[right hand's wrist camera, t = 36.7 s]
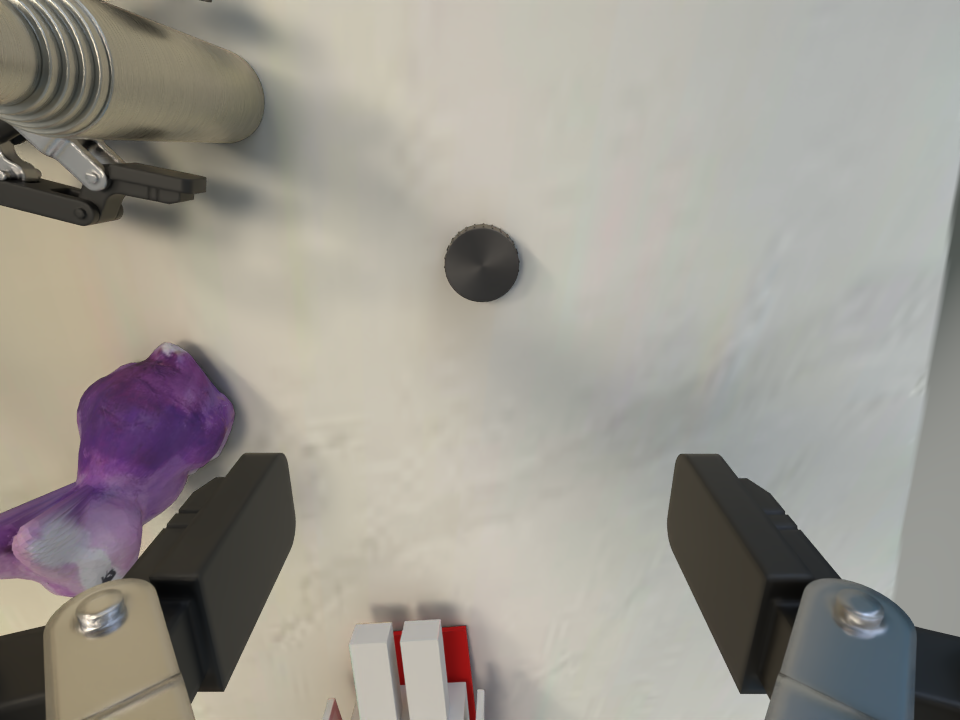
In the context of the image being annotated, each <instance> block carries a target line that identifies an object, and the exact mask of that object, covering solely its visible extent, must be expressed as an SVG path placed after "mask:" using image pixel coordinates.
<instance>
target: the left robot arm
mask: <svg viewBox="0 0 960 720" xmlns="http://www.w3.org/2000/svg"><path fill="white" fill-rule="evenodd" d="M201 1H205V2H212V0H201ZM26 140H28V141H29V142H30V143H31V144H32V145H33V146H34V147H35V148H36V149H38V150H39V151H40V152H42V153H43V154H45V155H47V156H49V157H52V158H54V159H56V160H57V161H58V162H60V163H61V164H62V165H63V166H64V167H65V168H66V169H67V170H68V171H69V172H70V173H71V174H73V175H74V176H75V177H76V178H77V179H78V180H79V181H80V182H81V183H82V184H83V186H82V188H81V189H80V188H76V187H72V186H68V185H64V184H60V183H56V182H53V181H49V180H45V179H41V172H40V171H39V170H38V169H36V168H34V167H33V166H32V165H31V164H30V163H28V162H25V161H23V160H22V159H20V158H19V157H18V155H17V154H16V152H15V149H14V145H17V144H20V143H23V142H25V141H26ZM202 192H206V177H203V176H198V175H193V174H188V173H184V172H179V171H174V170H169V169H164V168H159V167H154V166H149V165H144V164H139V163H125V162H124V161H123V160H122V159H121V158H120V157H119V156H118V155H117V154H116V153H115V152H114V151H113V150H112V149H111V148H110V147H109V146H108V145H107V144H106V143H105V142H104V140H102V139H67V138H49V137H45V136H40V135H37V134H34V133H29V132H26V131H23V130H20V129H18V128H16V127H14V126H12V125H10V124H8V123H7V122H5V121H3V120H1V119H0V205H2V206H6V207H10V208H14V209H18V210H22V211H26V212H30V213H33V214H37V215H41V216H45V217H49V218H53V219H57V220H61V221H65V222H69V223H73V224H77V225H81V226H87V225H92V224H98V223H103V222H108V221H113V220H118V219H120V218H121V217H122V215H123V207H122V204H121V203H122V200H123V198H124V197H125V195H127V196H132V197H137V198H142V199H147V200H152V201H158V202H162V203H167V204H172V203H178V202H184V201H189V200H194V194H196V193H202Z"/></svg>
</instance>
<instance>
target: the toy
mask: <svg viewBox="0 0 960 720" xmlns="http://www.w3.org/2000/svg"><path fill="white" fill-rule="evenodd" d="M349 649H350V656H351V663H352V669H353V676H354V682H355V689H356V696H357V700H356V704H355V707H354V711H353V714H352V718H351V720H484V690H479V689H477V707H476V711H475V702H474V693H473V685H472V676H471V667H470V658H469V649H468V641H467V632H466V626H457V627H444V628H442V627H441V619H435V620H417V621H405V622H404V626H403V631H393V628H392V622H381V623H363V624H356V625H355V628H354V631H353V634H352V637H351V640H350V643H349ZM322 720H342V718H341V715H340V712H339V709H338V706H337V703H336V700H335V698H332V699H328V701H327V705H326V708H325V712H324V715H323V719H322Z"/></svg>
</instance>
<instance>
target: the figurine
mask: <svg viewBox="0 0 960 720" xmlns="http://www.w3.org/2000/svg"><path fill="white" fill-rule="evenodd" d="M234 417H235V412H234V409H233V404H232V403H231V402H230V401H229V399H228V398H227V397H226V396H225V395H224V394H222V393H221V392H219V391H218V389H217V388H216V387H215V386H214V385H213V383H212V382H211V381H210V380H209V379H208V377H207V376H206V374H205V373H204V372H203V370H202V369H201V368H200V367H199V365H198V364H197V363H196V361H195V360H194V359H193V357H192V356H191V355H190V354H189V353H188V352H187V351H185V350H184V349H182V348H180V347H179V346H177V345H174V344H171V343H168V342H165V343H163V344H161V345H160V346H159V347H157V348H156V349H155V350H154V352H153V353H152V354H151V355H150V356H149V357H148V358H147V359H146V360H144V361H142V362H139V363H129V364H126V365H123V366H120V367H119V368H118V369H117V370H115V371H114V372H112V373H111V374H109V375H108V376H106V377H103V378H101V379H99V380H97V381H96V382H95V383H93V384H92V385H91V386H90V387H89V388H88V389H87V390H86V391H85V392H84V394H83V395H82V397H81V399H80V403H79V406H78V410H77V424H78V429H79V434H80V439H81V442H80V448H79V457H78V472H77V480H76V482H74V483H72V484H69V485H67V486H65V487H62V488H60V489H58V490H55V491H53V492H50V493H48V494H46V495H43V496H41V497H39V498H36V499H34V500H31V501H29V502H27V503H24V504H22V505H20V506H17V507H15V508H12V509H10V510H8V511H5V512H3V513H1V514H0V579H13V578H20V579H28V580H33V581H36V582H39V583H40V584H42V585H43V586H44V587H45V588H46V589H47V590H48V591H50V592H51V593H53V594H55V595H60V596H67V597H75V596H76V595H78V594H79V593H81V592H83V591H85V590H87V589H89V588H91V587H94V586H96V585H99V584H102V583H105V582H108V581H112V580H117V579H122V578H123V577H124V576H125V574H126V573H127V572H128V571H129V570H130V568H131V567H132V566H133V565H134V564H135V562H136V561H137V560H138V556H139V551H140V546H141V538H142V526H143V525H144V524H146V523H147V522H149V521H150V520H152V519H153V518H154V517H156V516H157V515H159V514H160V513H161V512H163V511H164V510H165V509H167V508H168V507H169V506H170V505H171V504H172V503H173V502H174V501H175V500H176V499H177V497H178V496H179V494H180V493H181V491H182V490H183V488H184V486H185V483H186V481H187V477H188V475H192V474H194V473H195V472H196V471H197V470H198V469H199V468H201V467H203V466H204V465H205V464H207V463H208V462H209V461H212V460H214V459H215V458H217V457H218V456H219V455H220V453H221V451H222V449H223V447H224V445H225V443H226V442H227V438H228V436H229V434H230V432H231V428H232V425H233V421H234Z"/></svg>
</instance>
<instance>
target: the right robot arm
mask: <svg viewBox="0 0 960 720" xmlns="http://www.w3.org/2000/svg"><path fill="white" fill-rule="evenodd" d="M295 526H296V520H295V510H294V503H293V496H292V489H291V482H290V475H289V468H288V462H287V459H286V456H285V455H284V454H283V453H245V454H243V455H242V456H241V457H240V459H239V460H238V461H237V462H236V464H235V465H234V466H233V468H232V469H231V470H230V472H229V473H228V474H227V475H226V477H216V478H214V479H213V480H211V481H210V482H208V483H207V484H205V485H204V486H202V487H201V488H199V489H198V490H196V491H195V492H193V493H192V495H191V496H190V497H189V498H188V499H187V501H186V502H185V503H184V504H183V506H182V507H181V508H180V509H179V513H178V514H175V515H174V516H173V518H172V519H171V520H170V521H169V522H168V524H167V527H166V528H163V530H162V531H161V532H160V533H159V535H158V536H157V537H156V538H155V539H154V541H153V542H152V543H151V544H150V545H149V547H148V548H147V549H146V550H145V551H144V553H143V554H142V555H141V556H140V557H139V559H138V560H137V561H136V562H135V564H134V565H133V566H132V567H131V568H130V570H129V571H128V572H127V573H126V574H125V576H124V577H123V578H122V579H117V580H112V581H108V582H105V583H102V584H99V585H96V586H94V587H91V588H89V589H87V590H85V591H83V592H81V593H79V594H78V595H76V596H75V597H73V598H71V599H70V600H69V601H67V602H66V603H65V604H63V605H62V606H61V607H60V608H59V609H58V610H57V611H56V612H55V613H54V614H53V615H52V616H51V618H50V619H49V621H48V622H47V624H46V626H42V627H38V628H33V629H29V630H25V631H20V632H16V633H12V634H7V635H3V636H0V720H195V717H194V713H193V710H192V707H191V703H192V701H193V699H194V697H195V695H196V694H197V692H224V690H225V688H226V686H227V684H228V682H229V680H230V677H231V675H232V673H233V671H234V669H235V667H236V665H237V663H238V660H239V658H240V656H241V654H242V652H243V650H244V648H245V646H246V643H247V641H248V639H249V637H250V635H251V633H252V631H253V628H254V626H255V624H256V622H257V620H258V618H259V616H260V614H261V611H262V609H263V607H264V605H265V603H266V601H267V599H268V597H269V594H270V592H271V590H272V588H273V586H274V584H275V582H276V579H277V577H278V575H279V573H280V571H281V569H282V567H283V565H284V562H285V560H286V558H287V556H288V554H289V552H290V550H291V547H292V544H293V541H294V536H295ZM667 530H668V538H669V542H670V546H671V549H672V551H673V553H674V555H675V557H676V560H677V562H678V564H679V566H680V568H681V570H682V572H683V574H684V576H685V578H686V581H687V583H688V585H689V587H690V589H691V591H692V593H693V595H694V597H695V599H696V602H697V604H698V606H699V608H700V610H701V612H702V614H703V616H704V618H705V621H706V623H707V625H708V627H709V629H710V631H711V633H712V635H713V637H714V639H715V642H716V644H717V646H718V648H719V650H720V652H721V654H722V656H723V658H724V661H725V663H726V665H727V667H728V669H729V671H730V673H731V675H732V677H733V679H734V682H735V684H736V686H737V688H738V690H739V692H740V694H767V695H768V697H769V699H770V703H769V707H768V710H767V713H766V717H765V720H960V637H957V636H953V635H949V634H944V633H940V632H936V631H931V630H927V629H923V628H919V627H915V626H914V624H913V623H912V621H911V619H910V618H909V617H908V615H907V614H906V613H905V612H904V611H903V610H902V609H901V608H900V607H899V606H898V605H897V604H895V603H894V602H893V601H891V600H890V599H889V598H887V597H885V596H884V595H882V594H881V593H879V592H877V591H875V590H873V589H871V588H869V587H866V586H864V585H861V584H858V583H855V582H852V581H848V580H843V579H841V578H840V577H839V575H838V574H837V573H836V572H835V571H834V569H833V568H832V567H831V566H830V565H829V563H828V562H827V561H826V560H825V559H824V557H823V556H822V555H821V554H820V553H819V551H818V550H817V549H816V548H815V547H814V545H813V544H812V543H811V542H810V541H809V539H808V538H807V537H806V536H805V535H804V533H803V532H802V531H801V530H798V529H797V525H796V524H795V523H794V521H793V520H792V519H791V518H790V517H789V515H785V511H784V509H783V508H782V507H781V506H780V505H779V503H778V502H777V501H776V500H775V499H774V497H773V496H772V495H771V494H770V493H769V492H767V491H766V490H764V489H763V488H761V487H759V486H758V485H756V484H755V483H753V482H752V481H750V480H749V479H747V478H738V477H737V476H736V475H735V473H734V472H733V471H732V469H731V468H730V467H729V466H728V464H727V463H726V462H725V460H724V459H723V458H722V457H721V456H720V455H719V454H680V455H679V456H678V457H677V459H676V463H675V469H674V476H673V483H672V489H671V496H670V503H669V510H668V518H667Z"/></svg>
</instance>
